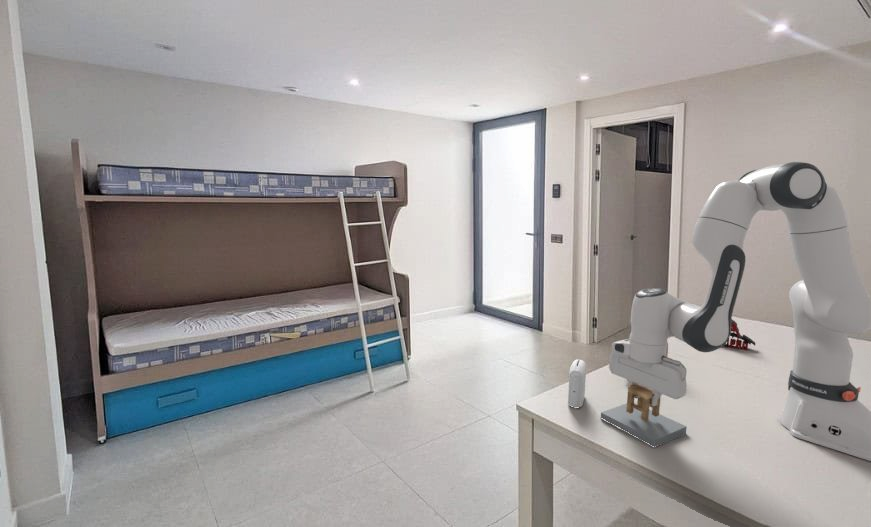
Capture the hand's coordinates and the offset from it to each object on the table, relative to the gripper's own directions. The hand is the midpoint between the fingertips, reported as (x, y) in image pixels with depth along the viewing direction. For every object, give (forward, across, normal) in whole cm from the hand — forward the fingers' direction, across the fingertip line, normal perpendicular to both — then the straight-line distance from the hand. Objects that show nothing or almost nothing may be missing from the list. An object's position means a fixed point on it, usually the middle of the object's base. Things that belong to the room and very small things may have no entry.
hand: (643, 400), depth 115 cm
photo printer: (+7, +19, +4) cm, 21 cm away
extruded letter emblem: (+8, +23, -87) cm, 90 cm away
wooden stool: (+4, 0, 0) cm, 4 cm away
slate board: (+7, 0, 0) cm, 7 cm away
